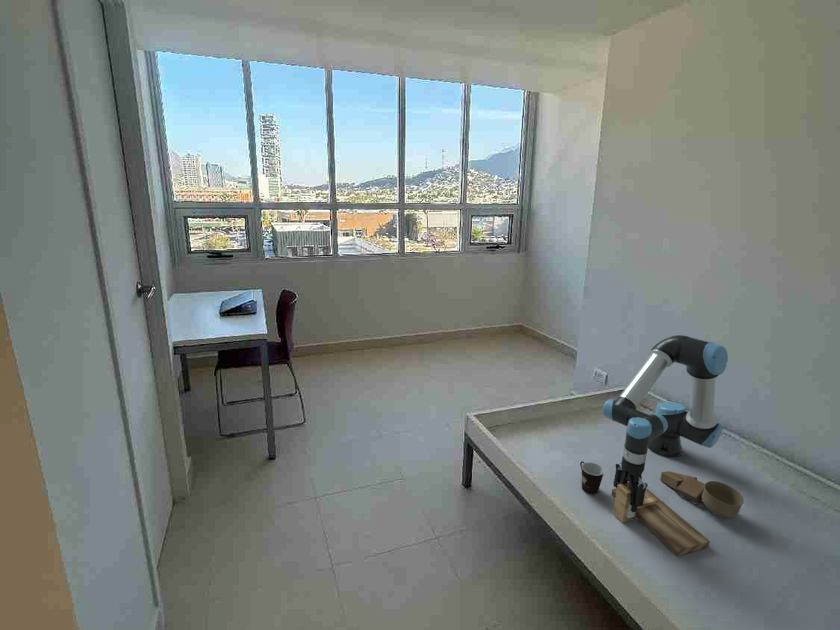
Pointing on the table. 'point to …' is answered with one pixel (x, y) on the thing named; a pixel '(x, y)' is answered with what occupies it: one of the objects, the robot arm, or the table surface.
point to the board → (669, 527)
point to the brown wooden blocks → (684, 485)
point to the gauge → (627, 502)
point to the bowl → (722, 499)
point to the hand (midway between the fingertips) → (624, 511)
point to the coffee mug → (591, 477)
